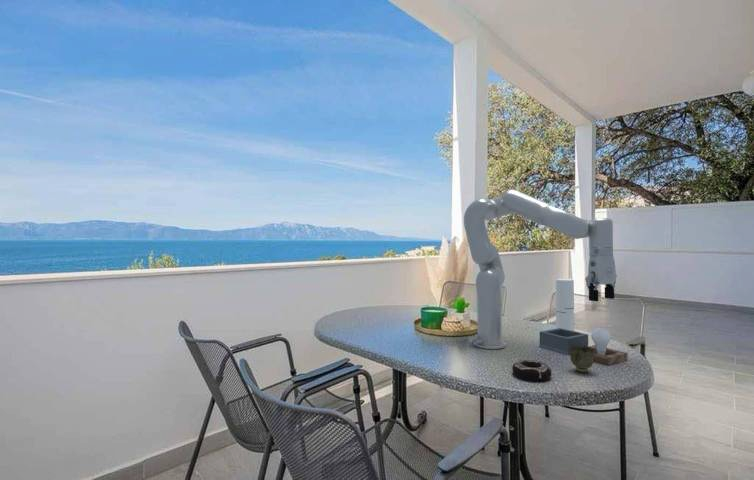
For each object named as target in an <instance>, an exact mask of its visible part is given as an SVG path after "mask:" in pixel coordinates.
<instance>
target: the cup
mask: <svg viewBox="0 0 754 480" xmlns="http://www.w3.org/2000/svg"><path fill="white" fill-rule="evenodd" d="M569 348H570V354H569V357H570V360H571V364H572V365H573V366H574V367H575V370H576V372H578V373H579V374H580V373H581V374H586V373H588V372H589V369H590V368H591V367H592V366H593V364H594V362H593V360H594V353H595V349H593V350H591V347H589V346H588V347H587V346H586V345H584V346H583V347H581V345H579V348H578V346H577V345H575V346H574V345H573V347H571V346H569Z"/></svg>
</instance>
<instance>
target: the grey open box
mask: <svg viewBox="0 0 754 480" xmlns="http://www.w3.org/2000/svg"><path fill="white" fill-rule="evenodd" d="M573 345H574V346H575V345H577V346H578V348H579V345H581V347H583V346H584V345H586V346H587V347H589V334H588V333H585V332H579V331H575V330H574V331H571V330H567V329H562V328H556V327H555V328H552V329H547V330H546V329H545V330H542V331H539V347H540V348H544V349H548V350H550V351H552V352H553V351H554V352H557V353H561V354H564V355H567V356H568V355H569V356H570V348H569V346H571V347H573Z"/></svg>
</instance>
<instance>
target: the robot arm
mask: <svg viewBox="0 0 754 480" xmlns="http://www.w3.org/2000/svg"><path fill="white" fill-rule="evenodd" d="M511 214H515V215H518V216H519V217H522V218H525V219H527V220H528V221H531V222H534V223H535V224H538V225H541V226H544V227H547V228H550V229H551V230H552V231H553V230H554V231H556V232H558V233H560V234H561V235H562V234H563V235H565V236H566V237H569V238H571V239H574V240H578V239H585V238H588V250H589V251H588V252H589V253H588V256H589V257H588V258H589V261H588V267H587V268H588V273H587V274H588V275H586V277H585V279H584V281H585V282H586V286H587V290H588V301H592V302H599V290H598V289H599V286H600V285H602V286H603V285H604V286H605V287H604V298H605V299H609V300H610V299H611V300H614V299H615V288H616V287H615V286H616V285H615V284H616V283H617V271H616V263H615V257H614V234H613V232H614V228H613V227H614V226H613V225H614V224H613V223H614V222H613V220H612V219H611V218H608V217H606V218H604V217H603V218H601V217H598V218H597V217H596V218H591V219H585V218H581V217H578V216H576V215H575V214H571V213H569V212H567V211H565V210H562V209H560V208H557V207H555V206H553V205H551V204H550V203H548V202H546V201H543V200H541V199H538V198H536V197H534V196H531V195H529V194H527V193H525V192H522V191H521V190H520V191H519V190H517V189H513V188H511V189H508V190H506V191H504V192H503V193H502V195H500V196H497V197H493V198H489V199H488V198H484V197H483V198H477V199H475V200H473V201H472V202H471V203H469V205H468V206H467V208H466V210H465V211H464V214H463V227H464V231H465V235H466V239H467V243H468V247H469V252H470V256H471V259H472V261H473V262H474V263H475V264H477V265H478V267H479V268H478V269H479V272H478V273H477V276H476V278H475V288H476V289H475V290H476V301H477V302H476V308H477V309H476V310H477V313H476V314H477V317H476V318H477V322H476V323H477V325H476V326H477V327H476V328H477V333H475V336H474V337H469V338H468V342H469V343H470V344H472V343H473V345H474V346H475V347H477V348H479V349H480V348H481V349H486V350H501V349H504V348H505V347H507V346H506V344H507V343H506V342H505V341H504V340H502V338H503V337H502V335H503V333H502V331H503V330H502V327H503V325H502V322H503V321H502V320H503V319H502V292H501V291H502V289H501V287H502V286H503V284H504V282H505V279H506V278H505V271H504V267H503V265H502V260H501V257H500V254H499V251H498V248H497V247H496V245H495V244H493V243H492V242H491V240H490V237H489V233H488V229H487V227H486V221H489V220H493V219H496V218H500V217H504V216H507V215H511Z"/></svg>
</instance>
